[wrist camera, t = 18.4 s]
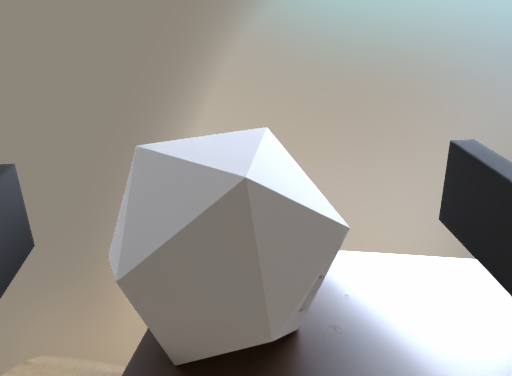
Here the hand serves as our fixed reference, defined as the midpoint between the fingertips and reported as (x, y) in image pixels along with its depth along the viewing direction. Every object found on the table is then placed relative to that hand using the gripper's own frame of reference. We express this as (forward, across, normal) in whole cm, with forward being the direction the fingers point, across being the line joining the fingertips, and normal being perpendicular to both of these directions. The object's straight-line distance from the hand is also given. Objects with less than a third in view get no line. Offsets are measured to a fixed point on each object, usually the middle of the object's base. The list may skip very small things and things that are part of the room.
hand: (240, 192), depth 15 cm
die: (+3, -1, -8) cm, 8 cm away
